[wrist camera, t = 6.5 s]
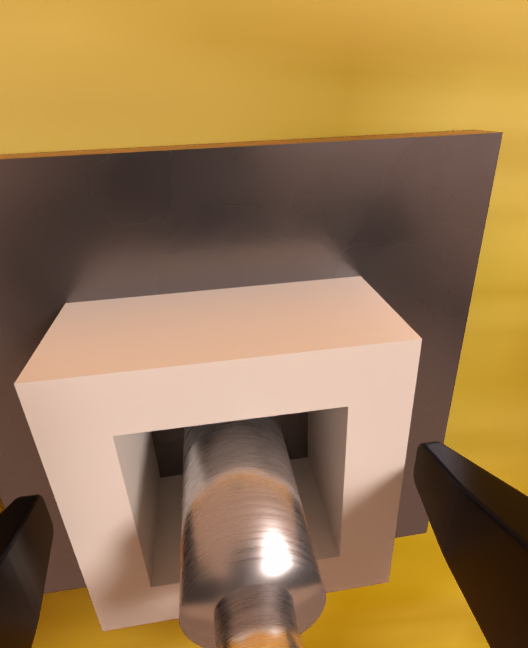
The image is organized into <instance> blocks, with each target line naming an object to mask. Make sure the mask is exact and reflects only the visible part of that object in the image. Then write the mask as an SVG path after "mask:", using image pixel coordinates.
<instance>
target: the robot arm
mask: <svg viewBox="0 0 528 648" xmlns="http://www.w3.org/2000/svg"><path fill="white" fill-rule="evenodd" d="M413 477H414V482H415V485H416V488H417V490H418V493H419V496H420V498H421V501H422V503H423V506H424V508H425V511H426V513H427V516H428V518H429V521H430V524H431V526H432V529H433V531H434V534H435V536H436V539H437V541H438V544H439V546H440V549H441V551H442V553H443V556H444V558H445V560H446V562H447V564H448V566H449V568H450V570H451V572H452V574H453V576H454V578H455V580H456V582H457V584H458V585H459V587H460V589H461V591H462V593H463V595H464V597H465V599H466V601H467V603H468V605H469V607H470V609H471V611H472V613H473V615H474V617H475V618H476V620H477V622H478V624H479V626H480V628H481V630H482V632H483V634H484V636H485V638H486V640H487V642H488V644H489V646H490V648H528V496H526V495H525V494H523V493H521V492H520V491H518V490H517V489H515V488H513V487H512V486H510V485H508V484H507V483H505V482H504V481H502V480H500V479H499V478H497V477H496V476H494V475H492V474H491V473H489V472H488V471H486V470H484V469H483V468H481V467H479V466H478V465H476V464H475V463H473V462H471V461H470V460H468V459H467V458H465V457H463V456H462V455H460V454H459V453H457V452H455V451H454V450H452V449H451V448H449V447H447V446H446V445H444V444H442V443H441V442H438V441H434V442H426V443H421V444H419V445H418V447H417V451H416V458H415V464H414V470H413ZM53 532H54V530H53V523H52V520H51V517H50V514H49V512H48V509H47V506H46V504H45V501H44V499H43V497H42V496H41V495H38V494H36V495H29V496H21V497H18V498H16V499H15V500H14V501H12V502H11V503H10V504H9V505H8V506H7V507H6V508H5V509H4V510H3V511H2V512H1V513H0V648H31V647H32V643H33V640H34V636H35V632H36V628H37V624H38V620H39V615H40V610H41V605H42V599H43V593H44V587H45V581H46V576H47V570H48V564H49V558H50V552H51V546H52V541H53Z"/></svg>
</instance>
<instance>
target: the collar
mask: <svg viewBox="0 0 528 648" xmlns="http://www.w3.org/2000/svg"><path fill="white" fill-rule="evenodd" d="M421 343H422V338H421V337H420V336H419V335H418V334H417V333H416V332H415V331H414V330H413V329H412V328H411V327H410V326H409V325H408V324H407V323H406V322H405V321H404V320H403V319H402V318H401V317H400V316H399V315H398V314H397V313H396V312H395V311H394V310H393V309H392V308H391V306H390V305H389V304H388V303H387V302H386V301H385V300H384V299H383V298H382V297H381V296H380V295H379V294H378V293H377V292H376V291H375V290H374V289H373V288H372V287H371V286H370V285H369V284H368V283H367V282H366V281H365V280H364V279H363V278H362V277H361V276H355V277H344V278H333V279H322V280H312V281H301V282H290V283H279V284H268V285H258V286H247V287H236V288H225V289H214V290H203V291H193V292H182V293H171V294H160V295H149V296H139V297H128V298H117V299H106V300H95V301H85V302H74V303H65V305H64V306H63V308H62V309H61V311H60V313H59V314H58V316H57V317H56V319H55V320H54V322H53V324H52V325H51V327H50V328H49V330H48V331H47V333H46V334H45V336H44V338H43V339H42V341H41V342H40V344H39V345H38V347H37V349H36V350H35V352H34V353H33V355H32V356H31V358H30V360H29V361H28V363H27V364H26V366H25V367H24V369H23V371H22V372H21V374H20V375H19V377H18V378H17V380H16V382H15V383H14V386H15V388H16V391H17V394H18V397H19V400H20V402H21V405H22V408H23V411H24V413H25V416H26V419H27V422H28V425H29V427H30V430H31V433H32V436H33V439H34V441H35V444H36V447H37V450H38V452H39V455H40V458H41V461H42V464H43V466H44V469H45V472H46V475H47V478H48V480H49V483H50V486H51V489H52V491H53V494H54V497H55V500H56V503H57V505H58V508H59V511H60V514H61V517H62V519H63V522H64V525H65V528H66V530H67V533H68V536H69V539H70V542H71V544H72V547H73V550H74V553H75V556H76V558H77V561H78V564H79V567H80V569H81V572H82V575H83V578H84V581H85V583H86V586H87V589H88V592H89V595H90V597H91V600H92V603H93V606H94V608H95V611H96V614H97V617H98V620H99V622H100V625H101V628H102V631H108V630H114V629H120V628H125V627H131V626H137V625H143V624H149V623H154V622H160V621H166V620H172V619H178V618H179V596H180V558H181V521H182V484H183V475H176V476H168V477H161V478H160V473H159V469H158V464H157V459H156V454H155V449H154V444H153V439H152V434H151V431H157V430H165V429H173V428H181V427H189V426H197V425H205V424H213V423H221V422H229V421H237V420H245V419H253V418H261V417H269V416H276V415H284V414H292V413H300V412H308V457H307V458H299V459H292V460H290V463H291V467H292V470H293V474H294V478H295V481H296V485H297V489H298V492H299V496H300V500H301V503H302V507H303V511H304V514H305V518H306V522H307V525H308V529H309V533H310V536H311V540H312V544H313V547H314V551H315V555H316V558H317V562H318V566H319V569H320V573H321V577H322V580H323V584H324V588H325V591H326V593H328V592H334V591H340V590H345V589H351V588H357V587H363V586H368V585H374V584H380V583H386V582H389V575H390V567H391V560H392V553H393V546H394V538H395V531H396V524H397V517H398V510H399V502H400V495H401V488H402V481H403V473H404V466H405V459H406V452H407V445H408V437H409V430H410V423H411V416H412V408H413V401H414V394H415V387H416V380H417V372H418V365H419V358H420V351H421Z"/></svg>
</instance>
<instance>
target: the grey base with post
mask: <svg viewBox="0 0 528 648" xmlns="http://www.w3.org/2000/svg"><path fill="white" fill-rule="evenodd" d="M502 133H503V132H492V131H481V130H463V131H444V132H425V133H405V134H386V135H367V136H348V137H329V138H310V139H290V140H271V141H252V142H233V143H214V144H194V145H175V146H156V147H137V148H118V149H99V150H79V151H60V152H41V153H22V154H3V155H0V498H1V501H2V503H3V505H4V508H6V507H7V506H8V505H9V504H10V503H11V502H12V501H14V500H15V499H16V498H18V497H21V496H29V495H36V494H38V495H41V496H42V497H43V499H44V501H45V504H46V506H47V509H48V512H49V514H50V517H51V520H52V523H53V530H54V532H53V541H52V546H51V552H50V558H49V564H48V570H47V576H46V581H45V587H44V593H50V592H57V591H63V590H69V589H76V588H82V587H87V586H86V583H85V581H84V578H83V575H82V572H81V569H80V567H79V564H78V561H77V558H76V556H75V553H74V550H73V547H72V544H71V542H70V539H69V536H68V533H67V530H66V528H65V525H64V522H63V519H62V517H61V514H60V511H59V508H58V505H57V503H56V500H55V497H54V494H53V491H52V489H51V486H50V483H49V480H48V478H47V475H46V472H45V469H44V466H43V464H42V461H41V458H40V455H39V452H38V450H37V447H36V444H35V441H34V439H33V436H32V433H31V430H30V427H29V425H28V422H27V419H26V416H25V413H24V411H23V408H22V405H21V402H20V400H19V397H18V394H17V391H16V388H15V386H14V383H15V382H16V380H17V378H18V377H19V375H20V374H21V372H22V371H23V369H24V367H25V366H26V364H27V363H28V361H29V360H30V358H31V356H32V355H33V353H34V352H35V350H36V349H37V347H38V345H39V344H40V342H41V341H42V339H43V338H44V336H45V334H46V333H47V331H48V330H49V328H50V327H51V325H52V324H53V322H54V320H55V319H56V317H57V316H58V314H59V313H60V311H61V309H62V308H63V306H64V305H65V303H74V302H85V301H95V300H106V299H117V298H128V297H139V296H149V295H160V294H171V293H182V292H193V291H203V290H214V289H225V288H236V287H247V286H258V285H268V284H279V283H290V282H301V281H312V280H322V279H333V278H344V277H355V276H361V277H362V278H363V279H364V280H365V281H366V282H367V283H368V284H369V285H370V286H371V287H372V288H373V289H374V290H375V291H376V292H377V293H378V294H379V295H380V296H381V297H382V298H383V299H384V300H385V301H386V302H387V303H388V304H389V305H390V306H391V308H392V309H393V310H394V311H395V312H396V313H397V314H398V315H399V316H400V317H401V318H402V319H403V320H404V321H405V322H406V323H407V324H408V325H409V326H410V327H411V328H412V329H413V330H414V331H415V332H416V333H417V334H418V335H419V336H420V337H421V338H422V343H421V351H420V358H419V365H418V372H417V380H416V387H415V394H414V401H413V408H412V416H411V423H410V430H409V437H408V445H407V452H406V459H405V466H404V473H403V481H402V488H401V495H400V502H399V510H398V517H397V524H396V531H395V538H397V537H403V536H409V535H415V534H422V533H426V532H427V527H428V521H429V518H428V516H427V513H426V511H425V508H424V506H423V503H422V501H421V498H420V496H419V493H418V490H417V488H416V485H415V482H414V477H413V470H414V464H415V458H416V451H417V447H418V445H419V444H421V443H426V442H434V441H438V442H441V443H442V444H443V443H444V438H445V432H446V427H447V422H448V417H449V411H450V406H451V401H452V396H453V390H454V385H455V380H456V375H457V369H458V364H459V359H460V354H461V348H462V343H463V338H464V333H465V327H466V322H467V317H468V312H469V306H470V301H471V296H472V291H473V286H474V280H475V275H476V270H477V265H478V259H479V254H480V249H481V244H482V238H483V233H484V228H485V223H486V217H487V212H488V207H489V202H490V196H491V191H492V186H493V181H494V175H495V170H496V165H497V160H498V154H499V149H500V144H501V139H502ZM151 434H152V439H153V444H154V449H155V454H156V459H157V464H158V469H159V473H160V478H161V477H168V476H176V475H183V484H182V521H181V558H180V596H179V623H180V626H181V629H182V630H183V632H184V634H185V635H186V636H187V637H188V638H189V639H190V640H191V641H193V642H194V643H196V644H197V645H199V646H201V647H204V648H303V645H302V640H301V636H300V634H302V633H303V632H304V631H306V630H307V629H308V628H309V627H310V626H311V625H312V624H313V623H314V622H315V621H316V620H317V619H318V617H319V616H320V614H321V613H322V611H323V609H324V606H325V602H326V591H325V588H324V584H323V580H322V577H321V573H320V569H319V566H318V562H317V558H316V555H315V551H314V547H313V544H312V540H311V536H310V533H309V529H308V525H307V522H306V518H305V514H304V511H303V507H302V503H301V500H300V496H299V492H298V489H297V485H296V481H295V478H294V474H293V470H292V467H291V463H290V460H292V459H299V458H307V457H308V412H300V413H292V414H284V415H276V416H269V417H261V418H253V419H245V420H237V421H229V422H221V423H213V424H205V425H197V426H189V427H181V428H173V429H165V430H157V431H151ZM44 593H43V594H44Z"/></svg>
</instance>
